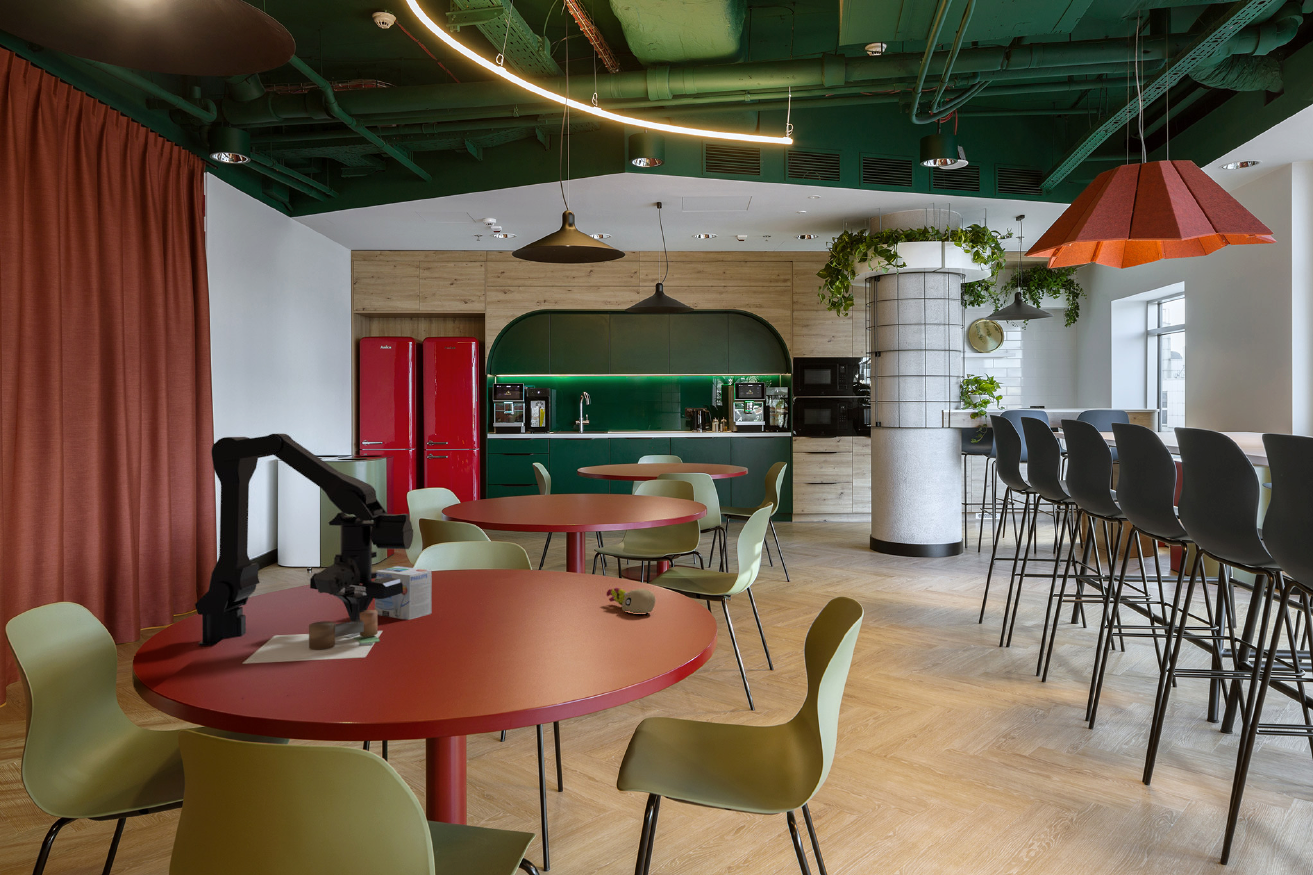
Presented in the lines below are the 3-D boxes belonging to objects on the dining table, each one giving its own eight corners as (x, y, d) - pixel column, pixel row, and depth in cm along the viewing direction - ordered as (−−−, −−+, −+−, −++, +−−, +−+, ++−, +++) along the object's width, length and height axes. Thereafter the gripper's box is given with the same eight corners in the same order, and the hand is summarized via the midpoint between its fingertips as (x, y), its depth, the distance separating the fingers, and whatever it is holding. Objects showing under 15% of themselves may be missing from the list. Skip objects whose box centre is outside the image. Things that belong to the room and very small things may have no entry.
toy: (595, 593, 178) (631, 603, 166) (617, 574, 182) (654, 584, 170) (606, 613, 180) (642, 625, 168) (627, 595, 184) (665, 605, 172)
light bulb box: (373, 620, 166) (373, 570, 166) (397, 613, 172) (397, 565, 172) (409, 625, 161) (409, 574, 161) (433, 618, 167) (432, 569, 167)
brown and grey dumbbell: (315, 650, 138) (315, 624, 138) (304, 646, 141) (304, 620, 141) (382, 636, 148) (382, 612, 148) (370, 632, 151) (370, 608, 150)
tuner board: (242, 670, 131) (242, 662, 131) (274, 641, 149) (274, 634, 149) (370, 663, 135) (370, 655, 135) (387, 636, 153) (387, 629, 153)
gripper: (286, 550, 145) (286, 631, 146) (361, 560, 138) (361, 646, 139) (332, 541, 156) (332, 617, 156) (405, 549, 148) (404, 629, 149)
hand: (356, 627), depth 150 cm, fingers closed
